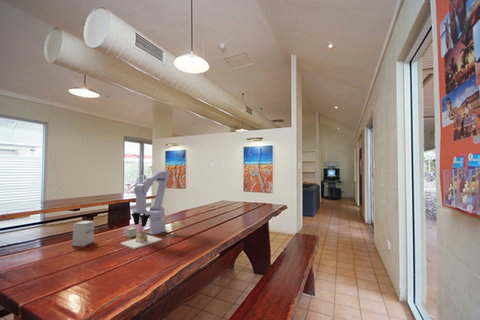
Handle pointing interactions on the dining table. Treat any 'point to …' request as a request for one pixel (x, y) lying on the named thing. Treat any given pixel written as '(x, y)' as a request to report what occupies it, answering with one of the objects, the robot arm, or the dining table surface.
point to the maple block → (141, 236)
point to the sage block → (131, 232)
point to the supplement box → (83, 233)
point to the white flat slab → (135, 244)
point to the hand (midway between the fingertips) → (140, 225)
